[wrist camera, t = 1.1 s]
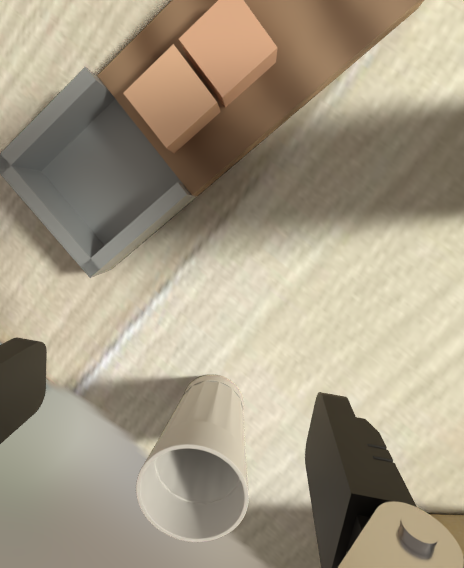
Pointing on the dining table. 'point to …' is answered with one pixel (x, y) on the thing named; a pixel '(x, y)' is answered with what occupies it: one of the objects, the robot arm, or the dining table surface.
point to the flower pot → (453, 526)
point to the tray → (92, 176)
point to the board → (268, 87)
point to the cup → (198, 465)
